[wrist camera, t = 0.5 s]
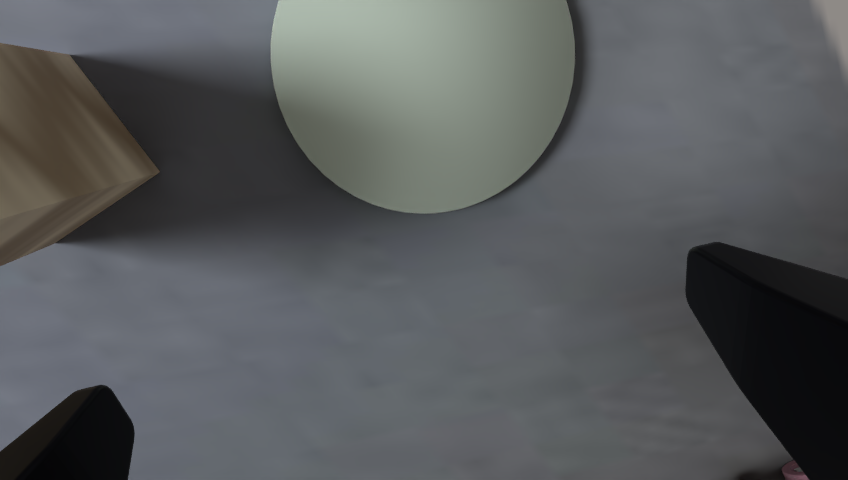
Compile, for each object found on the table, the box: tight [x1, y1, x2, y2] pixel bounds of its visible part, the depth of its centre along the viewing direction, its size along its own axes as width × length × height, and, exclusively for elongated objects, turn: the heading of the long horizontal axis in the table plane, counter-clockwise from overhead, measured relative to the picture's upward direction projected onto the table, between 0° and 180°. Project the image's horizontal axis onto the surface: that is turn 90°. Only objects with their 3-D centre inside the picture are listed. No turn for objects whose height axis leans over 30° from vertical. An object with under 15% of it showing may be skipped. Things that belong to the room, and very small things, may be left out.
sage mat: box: [271, 0, 575, 214], centre depth 21 cm, size 11×11×1 cm
